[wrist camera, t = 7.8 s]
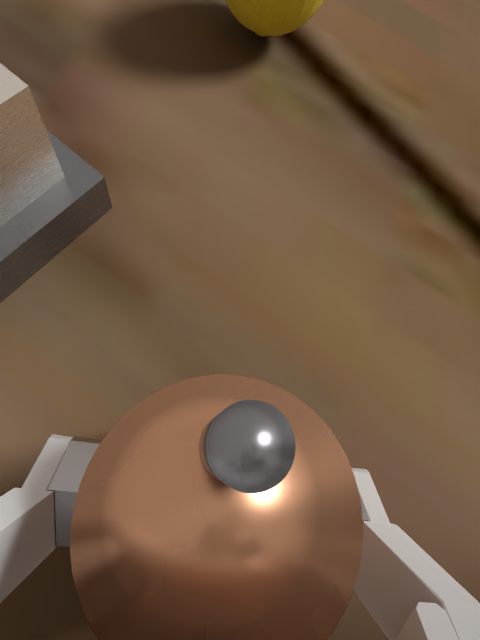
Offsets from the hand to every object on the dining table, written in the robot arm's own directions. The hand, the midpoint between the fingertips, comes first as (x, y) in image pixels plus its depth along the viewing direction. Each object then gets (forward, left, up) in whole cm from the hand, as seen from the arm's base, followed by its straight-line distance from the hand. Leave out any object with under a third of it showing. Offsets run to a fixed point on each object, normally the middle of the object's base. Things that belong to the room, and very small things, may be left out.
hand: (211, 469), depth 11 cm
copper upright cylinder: (+1, 0, -4) cm, 4 cm away
